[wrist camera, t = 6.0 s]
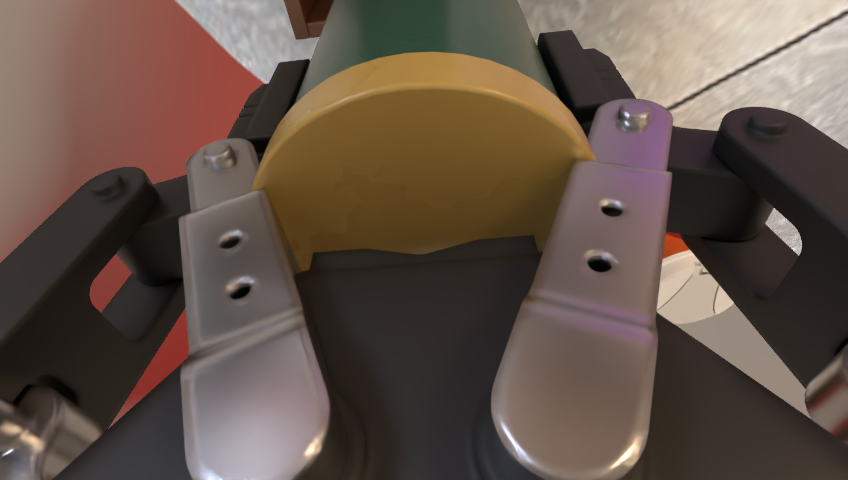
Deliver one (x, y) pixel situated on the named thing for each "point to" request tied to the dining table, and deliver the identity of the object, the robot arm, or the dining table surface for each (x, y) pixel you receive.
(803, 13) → the dining table surface
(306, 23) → the chest
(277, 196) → the tea tin
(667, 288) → the coffee cup
